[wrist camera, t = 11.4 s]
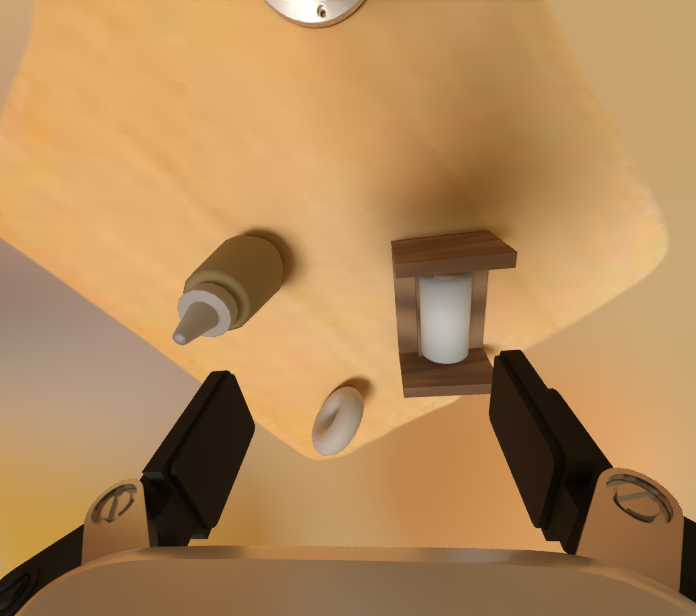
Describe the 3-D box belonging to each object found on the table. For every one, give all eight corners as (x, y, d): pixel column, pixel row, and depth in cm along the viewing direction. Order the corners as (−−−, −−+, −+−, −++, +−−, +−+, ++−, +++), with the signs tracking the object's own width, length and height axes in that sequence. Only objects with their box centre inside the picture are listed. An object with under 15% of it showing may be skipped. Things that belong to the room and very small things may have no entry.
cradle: (391, 241, 36) (395, 264, 29) (488, 230, 35) (517, 251, 28) (399, 357, 44) (404, 397, 37) (479, 352, 43) (500, 393, 36)
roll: (416, 267, 37) (422, 286, 32) (465, 262, 36) (479, 281, 31) (418, 339, 41) (424, 366, 36) (462, 336, 41) (474, 363, 36)
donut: (330, 416, 51) (321, 473, 42) (313, 406, 50) (300, 462, 41) (369, 381, 47) (368, 436, 38) (351, 369, 46) (346, 423, 37)
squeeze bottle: (295, 236, 37) (236, 304, 21) (286, 295, 41) (231, 390, 25) (229, 220, 37) (119, 276, 21) (226, 280, 41) (131, 367, 25)
